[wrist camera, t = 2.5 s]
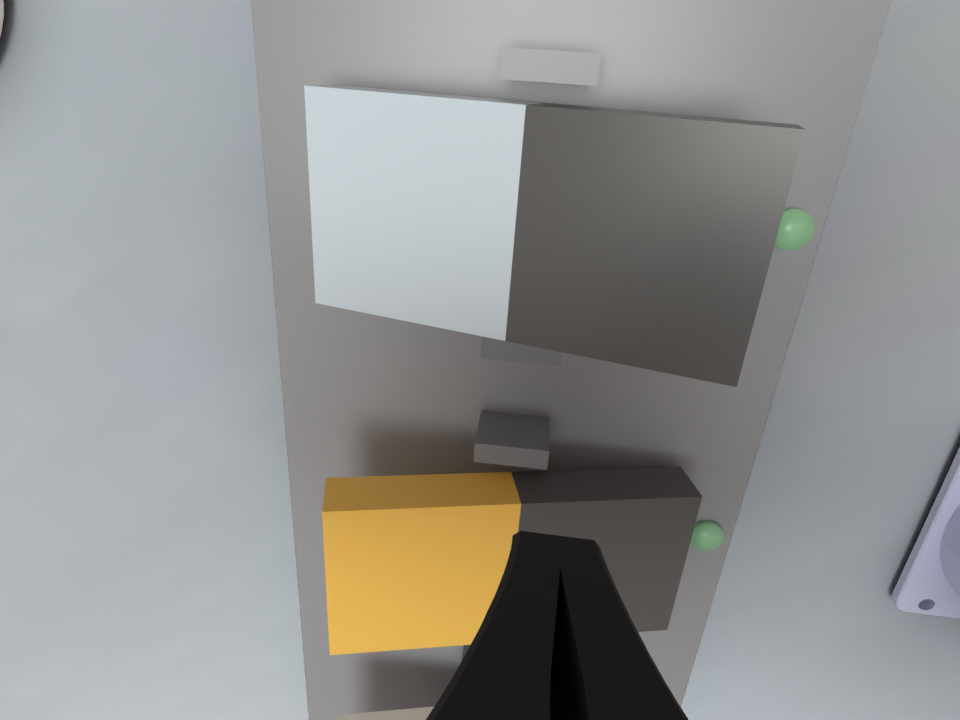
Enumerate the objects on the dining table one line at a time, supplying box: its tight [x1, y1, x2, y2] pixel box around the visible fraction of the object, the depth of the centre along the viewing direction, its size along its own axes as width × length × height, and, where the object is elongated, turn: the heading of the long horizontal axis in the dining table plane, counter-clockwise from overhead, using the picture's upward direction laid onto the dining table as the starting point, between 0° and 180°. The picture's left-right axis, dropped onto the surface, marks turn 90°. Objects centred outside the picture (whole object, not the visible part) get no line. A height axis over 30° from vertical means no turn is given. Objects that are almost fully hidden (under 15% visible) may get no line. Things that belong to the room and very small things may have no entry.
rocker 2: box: [322, 466, 702, 655], centre depth 18 cm, size 10×5×1 cm, turn 87°
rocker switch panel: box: [251, 0, 891, 720], centre depth 19 cm, size 14×35×4 cm, turn 176°
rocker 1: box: [304, 85, 806, 387], centre depth 14 cm, size 10×5×1 cm, turn 85°
